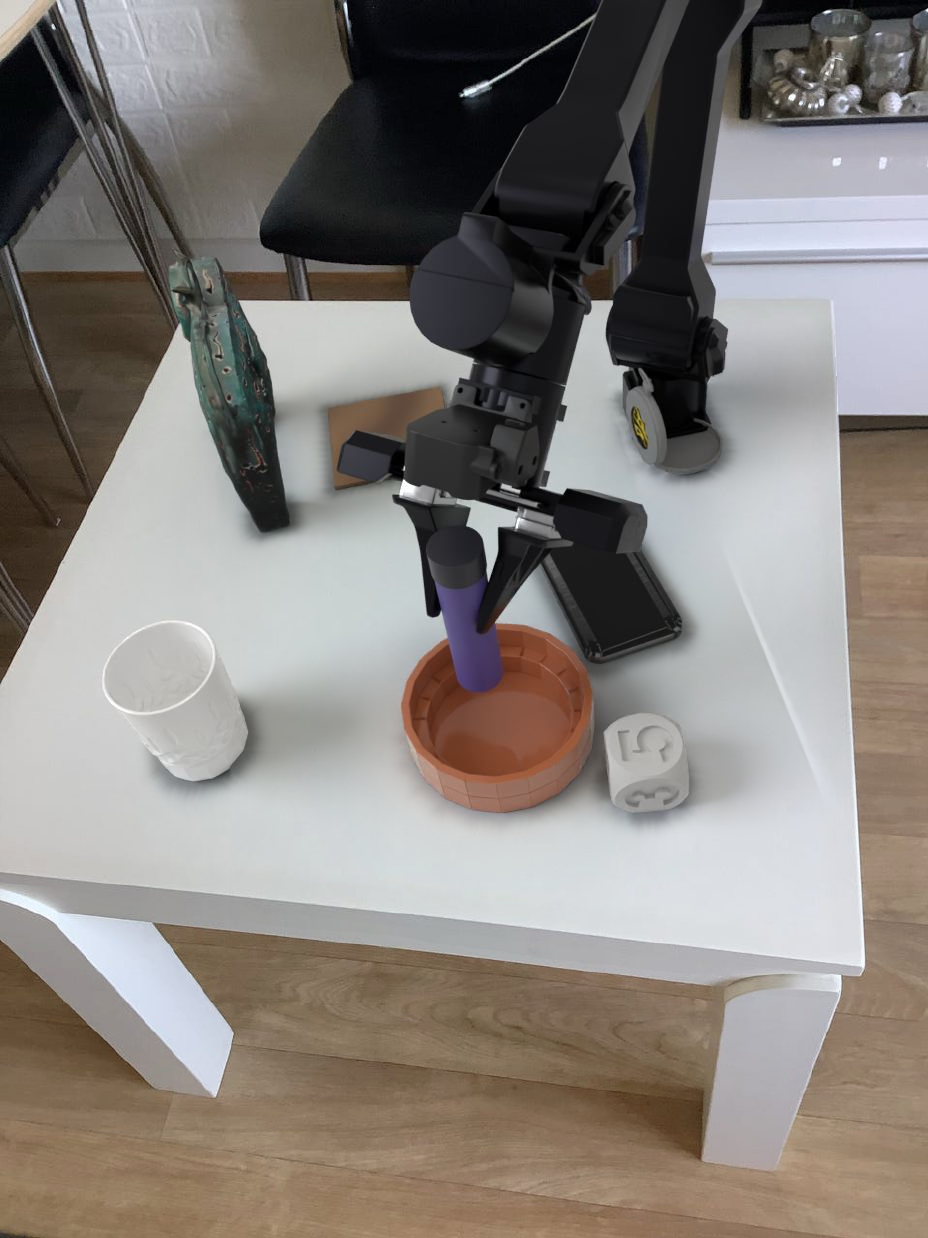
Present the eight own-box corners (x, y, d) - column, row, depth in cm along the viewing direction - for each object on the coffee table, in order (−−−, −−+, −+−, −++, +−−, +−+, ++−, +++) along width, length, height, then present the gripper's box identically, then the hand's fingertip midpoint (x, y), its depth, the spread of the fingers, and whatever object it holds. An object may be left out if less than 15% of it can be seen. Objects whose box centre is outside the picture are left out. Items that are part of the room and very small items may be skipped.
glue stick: (501, 649, 73) (479, 520, 63) (507, 689, 71) (486, 562, 60) (452, 657, 73) (423, 529, 63) (457, 697, 71) (428, 572, 61)
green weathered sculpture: (217, 405, 104) (143, 220, 88) (280, 388, 104) (219, 201, 89) (243, 545, 91) (163, 358, 76) (315, 524, 92) (250, 335, 76)
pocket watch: (736, 442, 92) (746, 349, 84) (684, 501, 88) (690, 409, 80) (656, 410, 96) (658, 317, 88) (603, 465, 92) (601, 374, 84)
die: (603, 754, 74) (602, 715, 70) (675, 747, 74) (677, 708, 70) (613, 818, 71) (612, 781, 67) (687, 811, 71) (691, 773, 67)
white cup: (274, 711, 80) (235, 631, 72) (227, 800, 76) (181, 725, 68) (185, 690, 82) (138, 610, 74) (134, 775, 78) (79, 700, 70)
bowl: (573, 645, 80) (570, 608, 77) (612, 796, 72) (611, 762, 68) (403, 677, 80) (393, 642, 77) (423, 831, 72) (412, 799, 69)
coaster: (440, 389, 101) (440, 385, 101) (456, 466, 94) (455, 463, 94) (328, 410, 101) (327, 407, 101) (335, 489, 94) (334, 486, 94)
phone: (589, 661, 78) (521, 525, 87) (590, 670, 78) (523, 534, 88) (688, 628, 78) (610, 496, 88) (688, 637, 79) (611, 505, 88)
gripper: (315, 321, 59) (259, 589, 62) (628, 394, 52) (547, 692, 55) (408, 350, 69) (356, 579, 72) (681, 415, 62) (609, 666, 65)
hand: (456, 624), depth 65 cm, fingers closed on glue stick, 3 cm apart
